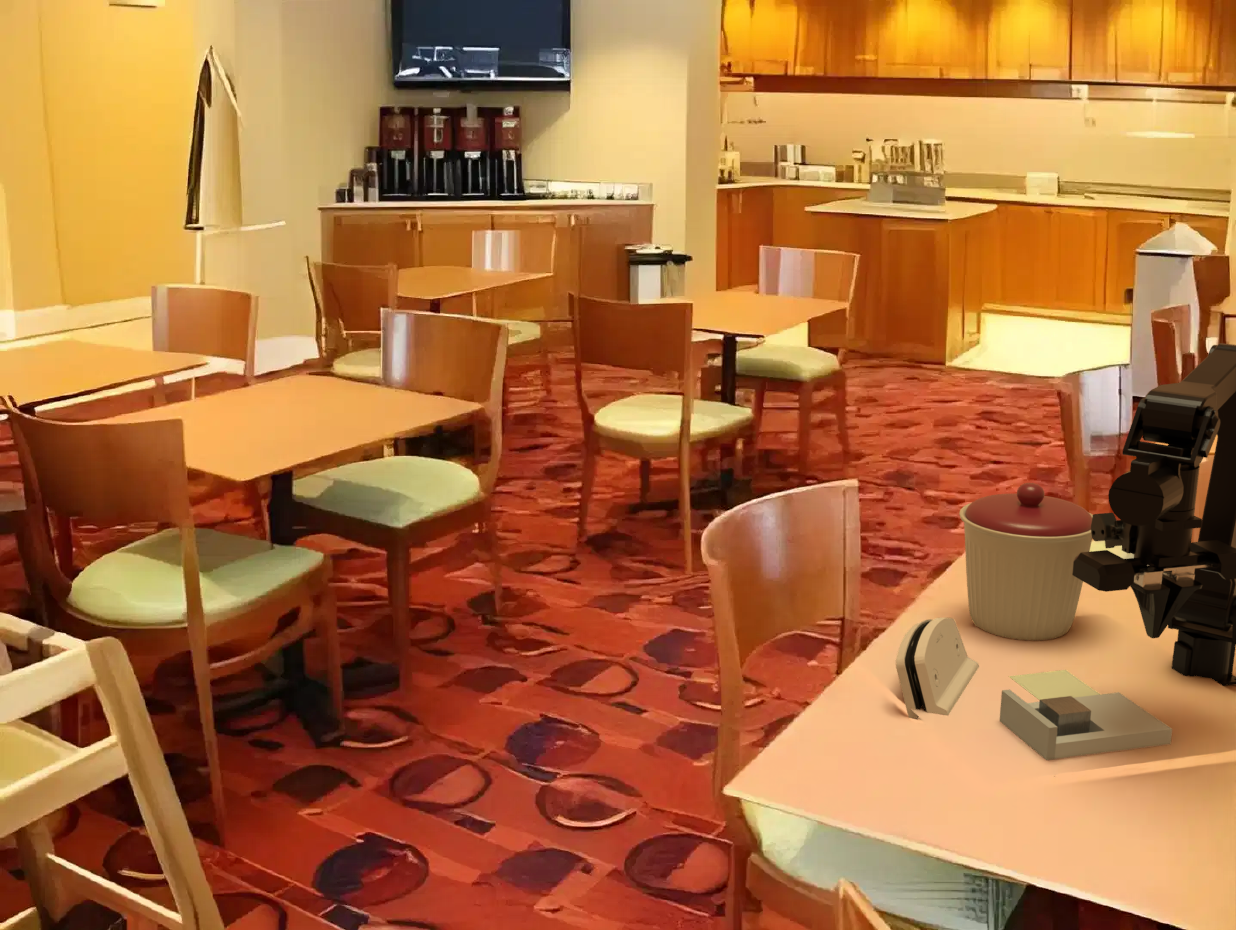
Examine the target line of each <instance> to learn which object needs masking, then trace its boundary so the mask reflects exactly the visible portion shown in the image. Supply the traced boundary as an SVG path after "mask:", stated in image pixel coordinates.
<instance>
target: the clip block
mask: <svg viewBox="0 0 1236 930" xmlns="http://www.w3.org/2000/svg"><path fill="white" fill-rule="evenodd" d="M1038 702H1039V713H1040V714H1042V715H1043V716H1044V717H1046V718H1047V719H1048V720H1049V721H1051V722H1052V723H1053V724H1054V725H1056V726H1057V737H1058V736H1066V735H1074V734H1082V733H1089V728H1090V718H1091V710H1090V709H1088V708H1087V707H1086V706H1084V705H1083V704H1081V703H1080V702H1079V701H1077V700H1076V699H1075V698H1073V697H1072V696H1066V697H1058V698H1049V699H1041V700H1039V701H1038Z"/></svg>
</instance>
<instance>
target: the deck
mask: <svg viewBox="0 0 1236 930" xmlns="http://www.w3.org/2000/svg"><path fill="white" fill-rule="evenodd" d="M1000 696H1001V697H1000V710H999V722H1000V723H1001V724H1002V725H1003V726H1004V727H1006V728H1007V729H1009V730H1010V732H1012V733H1013V734H1014V735H1016V737H1018V738H1019V739H1021V740H1022V742H1024V743H1025V744H1026V745H1027V746H1029V747H1030V748H1031V749H1032V750H1033V751H1035V752H1036V753H1037V754H1038V755H1039V756H1041V757H1042V758H1043V759H1044V760H1046V761H1051V760H1059V759H1069V758H1075V757H1076V758H1077V757H1081V756H1082V757H1083V756H1089V755H1090V756H1091V755H1098V754H1105V753H1113V752H1121V751H1127V750H1128V751H1129V750H1136V749H1144V748H1153V747H1159V746H1167V745H1171V744H1172V737H1173V736H1172V735H1173V734H1172V733H1173V728H1172V727H1170V726H1169V725H1167V724H1166V723H1165V722H1164V721H1162V720H1160V719H1158V718H1157V717H1156V716H1155V715H1153V714H1152V713H1150V712H1149V711H1147V710H1145V709H1144V708H1143V707H1141V706H1140V705H1138V704H1137V703H1135V702H1134V701H1133V700H1131V699H1130V698H1128V697H1127V696H1125V695H1123V694H1122V693H1121V692H1119V691H1117V692H1110V693H1100V695H1091V696H1083V697H1075V699H1076V700H1077V701H1079V702H1080V703H1081V704H1083V705H1084V706H1086V707H1087V708H1088V709H1090V710H1091V718H1090V728H1089V733H1082V734H1074V735H1066V736H1058V737H1057V726H1056V725H1054V724H1053V723H1052V722H1051V721H1049V720H1048V719H1047V718H1046V717H1044V716H1043V715H1042V714H1040V713H1039V702H1040V701H1034V702H1026V701H1025V699H1022V698H1021V697H1020V696H1019V695H1017V694H1016V693H1015V692H1013V691H1012V690H1011V689H1009V688H1008V689H1002V690H1001V695H1000Z"/></svg>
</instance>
